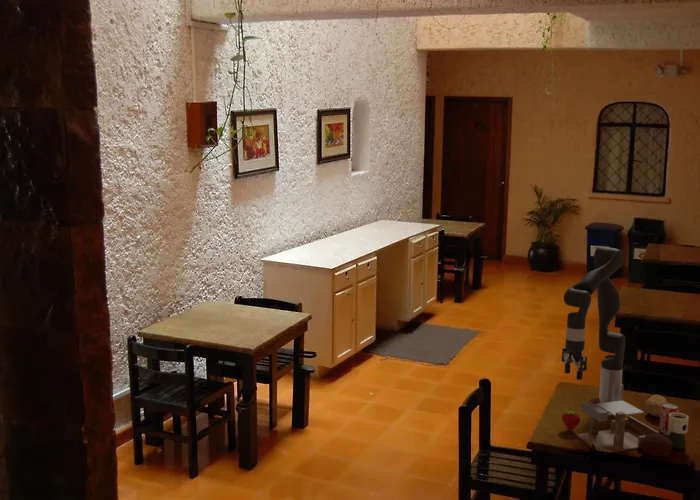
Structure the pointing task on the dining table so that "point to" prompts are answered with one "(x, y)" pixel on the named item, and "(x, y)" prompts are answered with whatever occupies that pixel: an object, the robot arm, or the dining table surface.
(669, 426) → the character mug
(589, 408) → the trapdoor
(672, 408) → the soda can
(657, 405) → the potato
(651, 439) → the potato
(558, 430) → the dining table surface
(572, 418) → the strawberry
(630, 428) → the stand
